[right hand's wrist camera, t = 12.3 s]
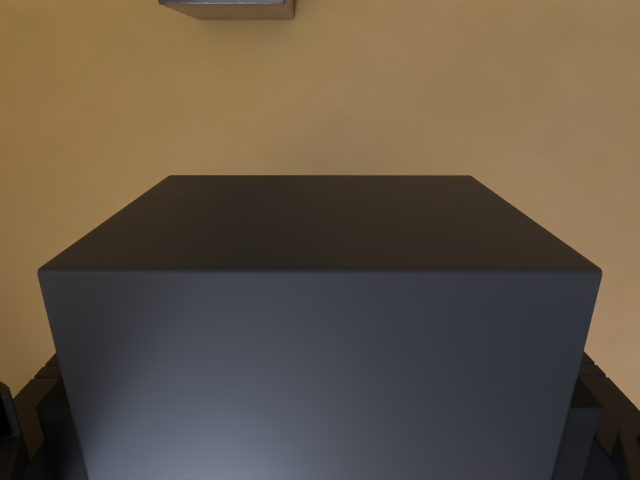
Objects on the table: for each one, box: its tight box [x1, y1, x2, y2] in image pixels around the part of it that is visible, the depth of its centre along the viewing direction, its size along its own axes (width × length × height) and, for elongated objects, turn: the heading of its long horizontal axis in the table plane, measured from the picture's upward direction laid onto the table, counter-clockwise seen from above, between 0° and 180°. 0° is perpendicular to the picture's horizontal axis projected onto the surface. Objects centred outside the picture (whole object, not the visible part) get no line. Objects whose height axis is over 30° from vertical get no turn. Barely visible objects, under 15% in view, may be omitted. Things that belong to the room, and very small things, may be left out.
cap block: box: [37, 175, 602, 480], centre depth 11 cm, size 8×8×6 cm
